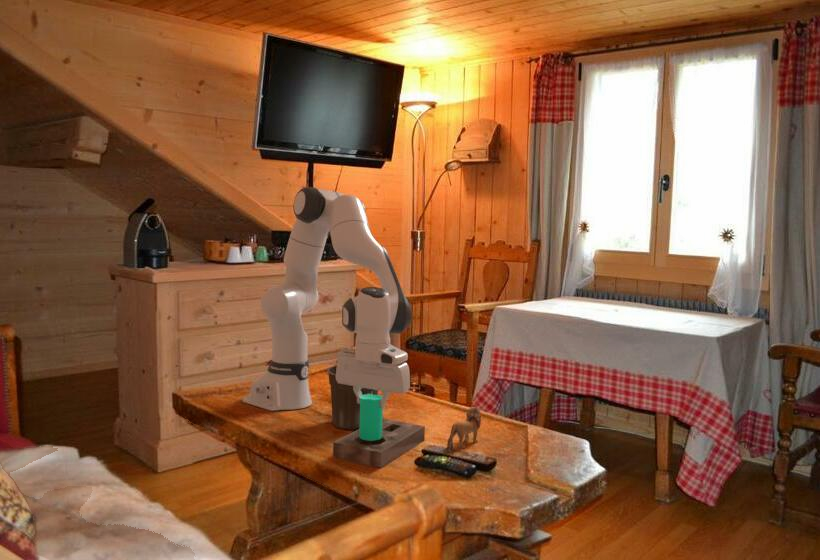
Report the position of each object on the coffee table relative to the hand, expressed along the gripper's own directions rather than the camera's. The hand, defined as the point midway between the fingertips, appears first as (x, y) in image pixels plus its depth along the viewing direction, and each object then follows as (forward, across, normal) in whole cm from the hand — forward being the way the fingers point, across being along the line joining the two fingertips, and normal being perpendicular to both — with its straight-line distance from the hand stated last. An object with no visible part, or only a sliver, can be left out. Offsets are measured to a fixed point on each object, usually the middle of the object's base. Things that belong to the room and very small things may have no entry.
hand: (371, 405), depth 177 cm
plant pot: (+13, -17, +19) cm, 29 cm away
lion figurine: (+13, +17, +21) cm, 30 cm away
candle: (+8, 0, 0) cm, 9 cm away
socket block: (+13, 0, +5) cm, 14 cm away
